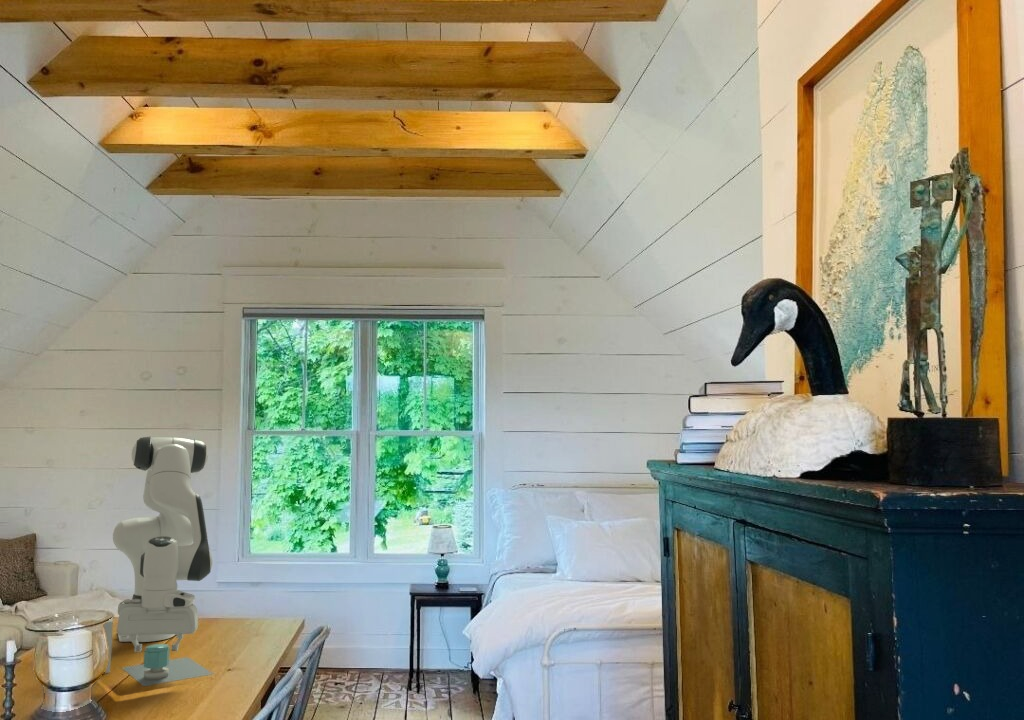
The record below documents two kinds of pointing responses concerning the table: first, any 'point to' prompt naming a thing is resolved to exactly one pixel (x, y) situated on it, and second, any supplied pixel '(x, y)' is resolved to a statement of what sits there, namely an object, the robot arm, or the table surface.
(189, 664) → the post board
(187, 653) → the table surface
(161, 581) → the robot arm
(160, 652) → the cap
